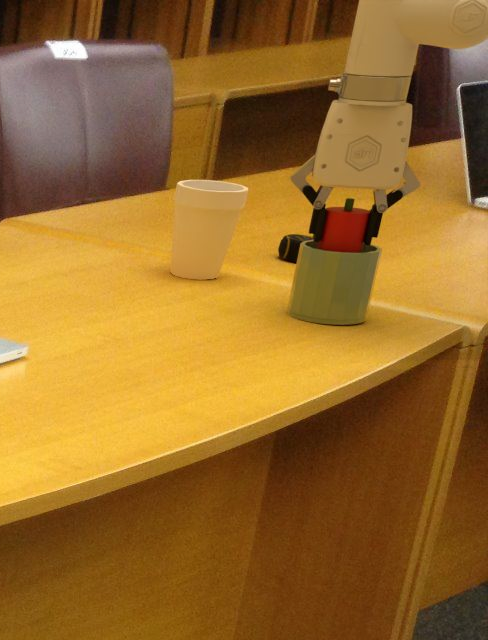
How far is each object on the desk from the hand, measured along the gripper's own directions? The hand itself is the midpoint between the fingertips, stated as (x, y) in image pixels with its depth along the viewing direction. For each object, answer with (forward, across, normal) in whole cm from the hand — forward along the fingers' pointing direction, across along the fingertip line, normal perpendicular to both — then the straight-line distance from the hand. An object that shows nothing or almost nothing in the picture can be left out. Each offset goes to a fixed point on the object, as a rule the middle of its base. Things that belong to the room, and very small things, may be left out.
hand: (341, 240), depth 195 cm
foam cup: (+10, -16, +18) cm, 26 cm away
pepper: (+1, 0, 0) cm, 1 cm away
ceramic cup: (+10, 0, 0) cm, 10 cm away
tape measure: (+10, 0, +37) cm, 38 cm away
